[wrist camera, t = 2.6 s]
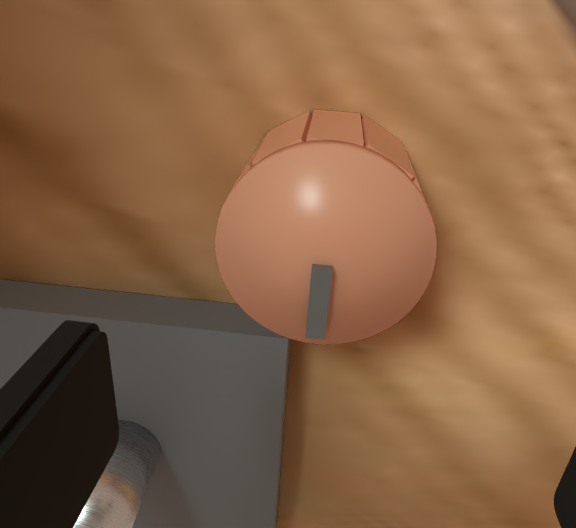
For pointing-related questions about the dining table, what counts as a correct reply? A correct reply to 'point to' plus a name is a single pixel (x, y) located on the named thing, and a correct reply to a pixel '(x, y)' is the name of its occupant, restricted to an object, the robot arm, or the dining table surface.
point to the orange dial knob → (327, 231)
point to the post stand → (171, 403)
